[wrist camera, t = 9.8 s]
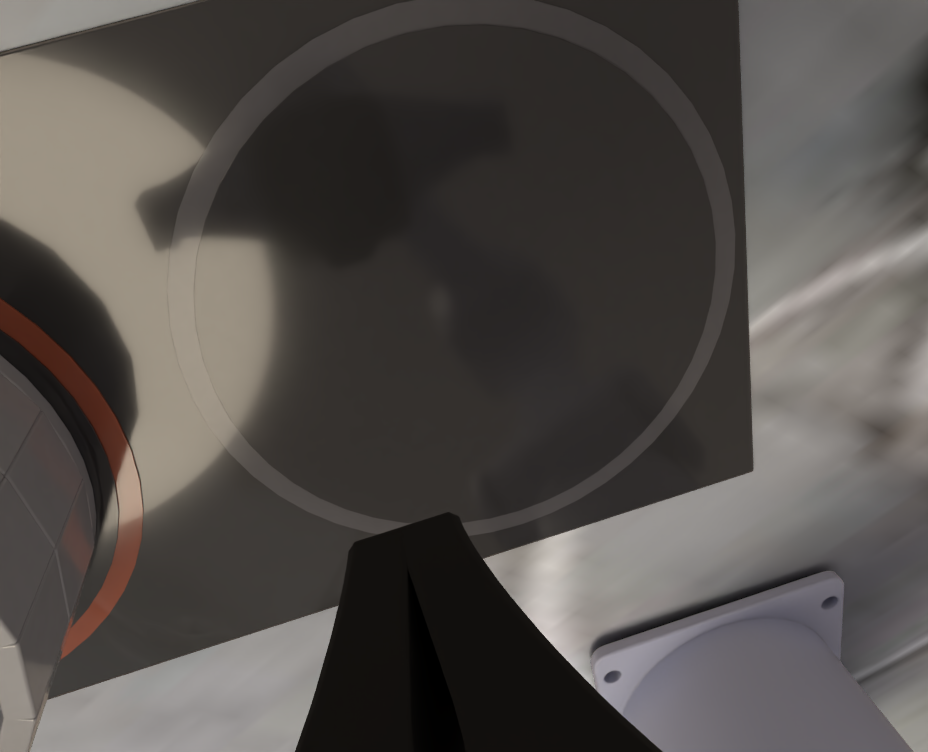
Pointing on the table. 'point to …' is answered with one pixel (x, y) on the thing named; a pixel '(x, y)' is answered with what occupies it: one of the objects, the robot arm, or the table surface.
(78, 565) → the pot
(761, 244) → the table surface
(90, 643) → the hob
